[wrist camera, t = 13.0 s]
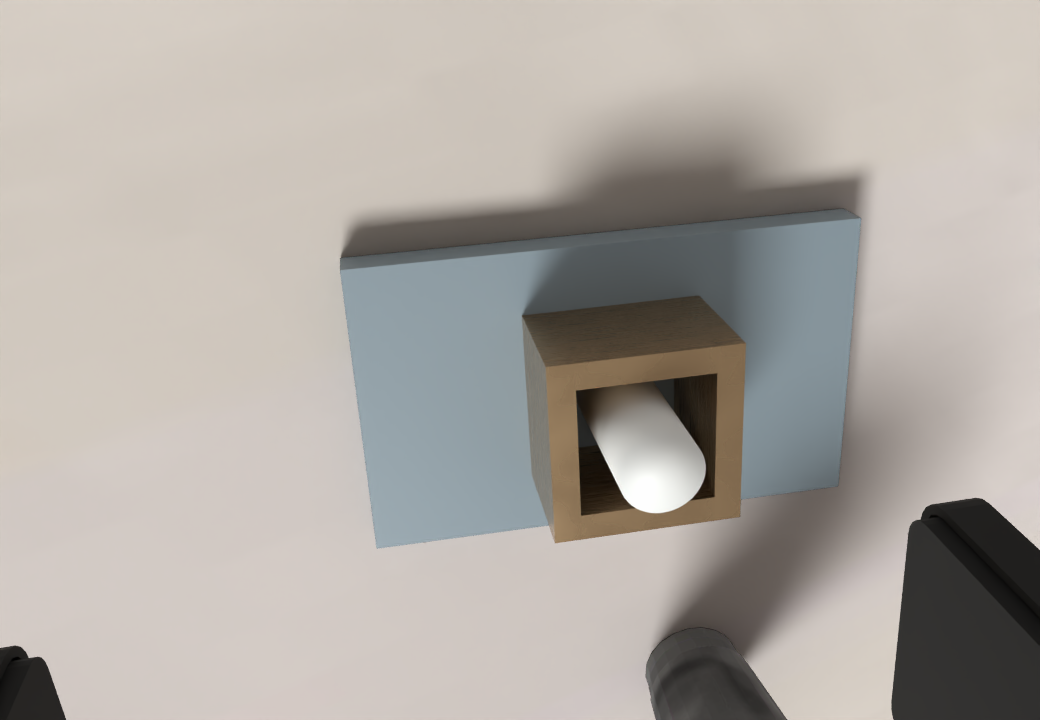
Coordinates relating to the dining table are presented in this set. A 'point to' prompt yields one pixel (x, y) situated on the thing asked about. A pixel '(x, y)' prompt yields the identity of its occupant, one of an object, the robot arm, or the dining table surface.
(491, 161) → the dining table surface
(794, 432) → the post board
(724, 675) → the beverage cup
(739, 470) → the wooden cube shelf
